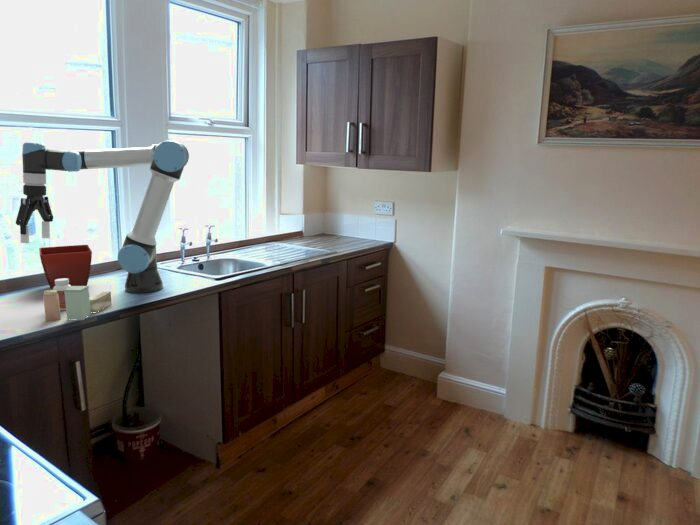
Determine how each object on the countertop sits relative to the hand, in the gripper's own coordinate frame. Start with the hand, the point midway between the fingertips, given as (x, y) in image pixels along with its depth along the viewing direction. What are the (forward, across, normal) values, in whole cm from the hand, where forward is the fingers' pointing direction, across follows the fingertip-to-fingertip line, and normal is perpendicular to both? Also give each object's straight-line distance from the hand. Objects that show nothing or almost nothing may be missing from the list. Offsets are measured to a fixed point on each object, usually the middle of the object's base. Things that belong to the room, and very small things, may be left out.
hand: (35, 240), depth 212 cm
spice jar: (+23, +23, +20) cm, 38 cm away
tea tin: (+22, +21, +28) cm, 41 cm away
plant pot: (+24, -22, +1) cm, 32 cm away
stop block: (+22, +9, +30) cm, 38 cm away
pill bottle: (+23, +10, +16) cm, 30 cm away
